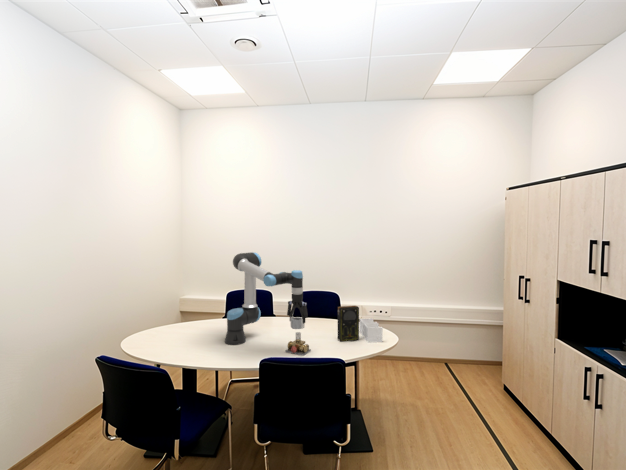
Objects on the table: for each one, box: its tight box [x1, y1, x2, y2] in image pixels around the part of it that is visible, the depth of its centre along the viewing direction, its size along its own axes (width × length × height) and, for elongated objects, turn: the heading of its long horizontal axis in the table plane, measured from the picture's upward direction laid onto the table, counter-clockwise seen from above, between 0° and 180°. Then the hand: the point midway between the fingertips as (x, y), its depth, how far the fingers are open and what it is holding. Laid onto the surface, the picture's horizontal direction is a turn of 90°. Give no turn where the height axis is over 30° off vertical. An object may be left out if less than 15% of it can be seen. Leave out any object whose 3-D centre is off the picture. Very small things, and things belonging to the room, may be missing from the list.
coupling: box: [290, 316, 302, 330], centre depth 234 cm, size 8×8×6 cm
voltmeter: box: [337, 305, 360, 343], centre depth 258 cm, size 16×9×25 cm, turn 105°
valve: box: [285, 331, 312, 357], centre depth 234 cm, size 14×11×12 cm
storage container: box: [359, 317, 384, 343], centre depth 265 cm, size 25×11×11 cm, turn 6°
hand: (297, 327), depth 234 cm, fingers closed on coupling, 8 cm apart
